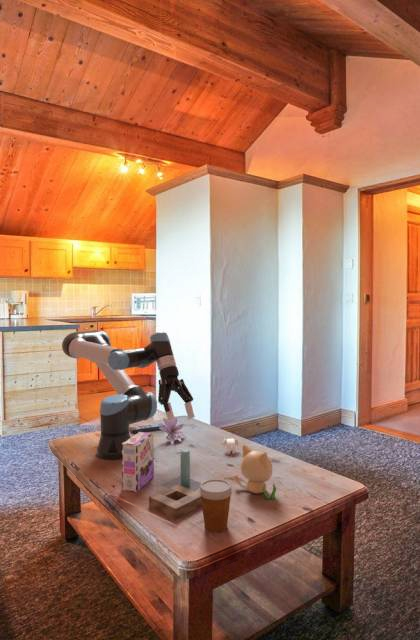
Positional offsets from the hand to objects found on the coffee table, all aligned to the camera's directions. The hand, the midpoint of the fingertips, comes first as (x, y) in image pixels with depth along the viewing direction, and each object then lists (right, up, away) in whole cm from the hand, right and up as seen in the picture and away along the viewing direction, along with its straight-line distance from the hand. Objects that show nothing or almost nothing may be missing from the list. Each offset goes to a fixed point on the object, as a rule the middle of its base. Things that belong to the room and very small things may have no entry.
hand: (181, 419), depth 172 cm
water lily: (-5, -16, +27) cm, 32 cm away
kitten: (+27, -19, -25) cm, 41 cm away
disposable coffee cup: (+13, -20, -47) cm, 53 cm away
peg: (+3, -18, -21) cm, 28 cm away
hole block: (+1, -19, -35) cm, 40 cm away
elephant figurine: (+20, -17, +12) cm, 28 cm away
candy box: (-14, -19, -19) cm, 30 cm away
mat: (+2, -18, -20) cm, 28 cm away
